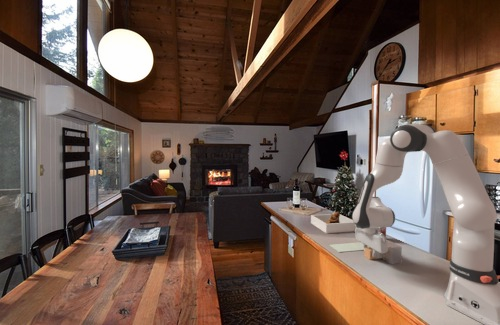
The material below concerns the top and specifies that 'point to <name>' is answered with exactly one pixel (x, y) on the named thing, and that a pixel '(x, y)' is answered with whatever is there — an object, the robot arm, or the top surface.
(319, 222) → the white shallow square tray
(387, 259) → the notched metal block
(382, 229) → the soda can
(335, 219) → the bear figurine
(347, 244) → the pad
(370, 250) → the plug
